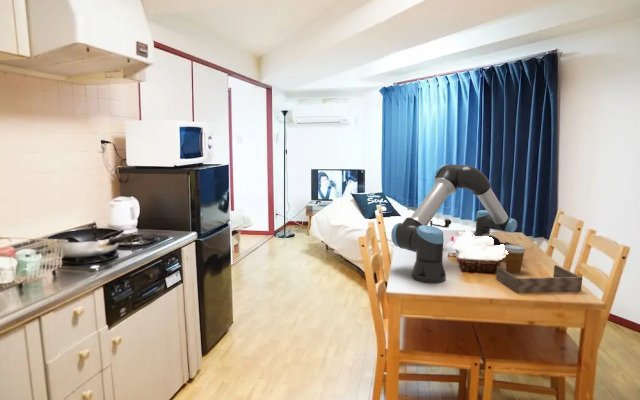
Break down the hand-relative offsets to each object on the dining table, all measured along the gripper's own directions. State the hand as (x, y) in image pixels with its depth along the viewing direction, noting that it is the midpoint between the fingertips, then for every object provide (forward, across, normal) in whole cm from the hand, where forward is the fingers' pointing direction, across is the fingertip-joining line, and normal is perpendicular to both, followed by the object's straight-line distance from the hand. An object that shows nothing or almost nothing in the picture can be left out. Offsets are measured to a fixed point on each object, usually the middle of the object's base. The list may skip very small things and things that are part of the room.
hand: (509, 252), depth 202 cm
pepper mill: (-38, +25, -8) cm, 46 cm away
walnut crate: (+24, 0, -8) cm, 26 cm away
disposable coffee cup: (+5, 0, -8) cm, 9 cm away
